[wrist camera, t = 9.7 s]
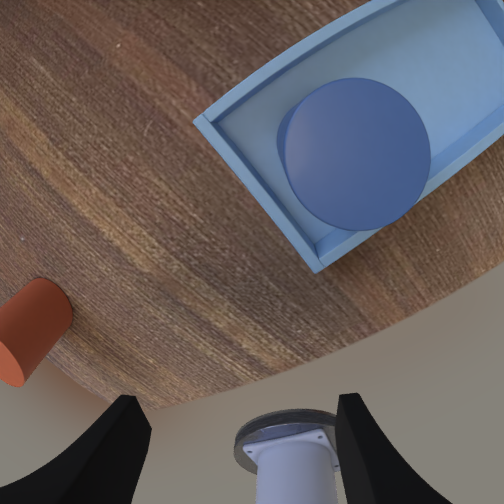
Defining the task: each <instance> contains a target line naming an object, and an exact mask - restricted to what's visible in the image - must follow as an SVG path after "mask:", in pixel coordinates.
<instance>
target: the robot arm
mask: <svg viewBox="0 0 504 504" xmlns="http://www.w3.org/2000/svg"><path fill="white" fill-rule="evenodd" d="M334 429H335V440H336V449H337V454H336V452H335V451H334V449H333V447H332V445H331V443H330V441H329V439H328V437H327V435H326V433H325V431H324V430H323V429H316V430H312V431H308V432H304V433H300V434H296V435H291V436H287V437H282V438H278V439H273V440H268V441H262V442H257V443H251V444H246V445H244V446H243V451H244V452H245V453H246V454H247V455H248V456H249V457H250V458H251V459H252V460H253V461H254V462H255V463H256V464H257V465H258V470H257V489H256V504H338V499H337V491H336V482H335V475H334V472H337V471H341V475H342V479H343V484H344V488H345V494H346V498H347V503H348V504H452V503H451V502H450V501H448V500H447V499H446V498H445V497H443V496H442V495H440V494H439V493H438V492H437V491H436V490H434V489H433V488H432V487H431V486H430V485H429V484H427V482H426V481H424V480H423V479H422V478H421V477H420V476H419V475H418V474H417V473H416V472H415V471H414V470H413V469H412V467H411V466H410V465H409V464H408V463H407V462H406V461H405V460H404V458H403V457H402V456H401V455H400V454H399V453H398V451H397V450H396V449H395V448H394V447H393V445H392V444H391V442H390V441H389V440H388V439H387V437H386V436H385V435H384V433H383V431H382V430H381V429H380V427H379V426H378V424H377V423H376V421H375V420H374V418H373V417H372V415H371V414H370V412H369V410H368V409H367V407H366V405H365V404H364V402H363V400H362V398H361V396H360V395H359V394H358V393H350V394H342V395H339V402H338V409H337V415H336V422H335V428H334ZM151 430H152V428H151V426H150V424H149V422H148V420H147V418H146V417H145V414H144V412H143V411H142V409H141V407H140V405H139V402H138V400H137V398H136V396H130V395H120V396H119V397H118V398H117V399H116V400H115V401H114V402H113V404H112V405H111V406H110V407H109V408H108V409H107V410H106V411H105V412H104V413H103V414H102V415H101V416H100V417H99V418H98V419H97V420H96V421H95V422H94V423H93V424H92V425H91V426H90V427H89V428H88V429H87V430H86V431H85V432H84V433H83V434H82V435H81V436H80V437H79V438H78V439H77V440H76V441H75V442H74V443H72V444H71V445H70V446H69V447H68V448H67V449H66V450H64V451H63V452H62V453H61V454H59V455H58V456H57V457H55V458H54V459H53V460H51V461H50V462H49V463H47V464H46V465H44V466H43V467H41V468H39V469H38V470H36V471H34V472H33V473H31V474H30V475H27V476H26V477H24V478H22V479H20V480H17V481H15V482H13V483H11V484H8V485H6V486H3V487H0V504H131V502H132V498H133V494H134V492H135V489H136V486H137V482H138V479H139V476H140V473H141V470H142V467H143V464H144V461H145V458H146V455H147V452H148V447H149V442H150V436H151Z"/></svg>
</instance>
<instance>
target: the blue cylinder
mask: <svg viewBox="0 0 504 504" xmlns="http://www.w3.org/2000/svg"><path fill="white" fill-rule="evenodd" d="M276 142H277V150H278V155H279V157H280V160H281V163H282V166H283V169H284V171H285V174H286V177H287V180H288V183H289V185H290V187H291V189H292V191H293V193H294V194H295V196H296V197H297V199H298V200H299V202H300V203H301V204H302V205H303V206H304V208H305V209H306V210H308V211H309V212H310V213H311V214H312V215H313V216H315V217H316V218H317V219H319V220H320V221H322V222H324V223H326V224H328V225H330V226H333V227H336V228H338V229H343V230H347V231H369V230H374V229H378V228H381V227H384V226H387V225H389V224H391V223H393V222H395V221H396V220H398V219H399V218H401V217H402V216H403V215H404V214H406V213H407V212H408V211H409V210H410V209H411V208H412V207H413V206H414V204H415V203H416V202H417V200H418V199H419V197H420V195H421V194H422V192H423V190H424V188H425V185H426V182H427V179H428V176H429V172H430V164H431V150H430V142H429V138H428V134H427V131H426V128H425V125H424V123H423V121H422V119H421V117H420V116H419V114H418V113H417V111H416V110H415V108H414V107H413V106H412V105H411V104H410V102H409V101H408V100H407V99H406V98H405V97H403V96H402V95H401V94H400V93H399V92H397V91H396V90H394V89H393V88H391V87H389V86H387V85H385V84H383V83H380V82H378V81H375V80H371V79H365V78H343V79H338V80H334V81H331V82H329V83H326V84H324V85H322V86H320V87H318V88H317V89H315V90H314V91H312V92H311V93H310V94H309V95H307V96H306V97H305V98H304V99H302V100H301V101H300V102H299V103H297V104H296V105H295V106H294V107H292V108H291V109H290V110H289V111H288V112H287V113H286V115H285V116H284V117H283V119H282V121H281V123H280V125H279V128H278V132H277V141H276Z"/></svg>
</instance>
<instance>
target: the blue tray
mask: <svg viewBox="0 0 504 504" xmlns="http://www.w3.org/2000/svg"><path fill="white" fill-rule="evenodd" d="M343 78H365V79H371V80H375V81H378V82H380V83H383V84H385V85H387V86H389V87H391V88H393V89H394V90H396V91H397V92H399V93H400V94H401V95H402V96H403V97H405V98H406V99H407V100H408V101H409V102H410V104H411V105H412V106H413V107H414V108H415V110H416V111H417V113H418V114H419V116H420V117H421V119H422V121H423V123H424V125H425V128H426V131H427V134H428V138H429V142H430V150H431V164H430V172H429V176H428V179H427V182H426V185H425V188H424V190H423V192H422V194H421V195H420V197H419V199H418V200H417V202H419V201H420V200H421V199H423V198H424V197H425V196H427V195H428V194H429V193H431V192H432V191H433V190H434V189H436V188H437V187H438V186H440V185H441V184H442V183H444V182H445V181H446V180H447V179H449V178H450V177H451V176H453V175H454V174H455V173H456V172H458V171H459V170H460V169H462V168H463V167H464V166H465V165H467V164H468V163H469V162H470V161H472V160H473V159H474V158H475V157H477V156H478V155H479V154H480V153H482V152H483V151H484V150H485V149H486V148H488V147H489V146H490V145H491V144H493V143H494V142H495V141H496V140H497V139H499V138H500V137H501V136H502V135H503V134H504V3H503V1H502V0H372V1H370V2H368V3H366V4H364V5H362V6H360V7H358V8H356V9H355V10H353V11H351V12H349V13H347V14H345V15H343V16H342V17H340V18H338V19H336V20H335V21H333V22H331V23H329V24H328V25H326V26H324V27H323V28H321V29H319V30H317V31H316V32H314V33H313V34H311V35H309V36H308V37H306V38H304V39H303V40H301V41H300V42H298V43H297V44H295V45H294V46H292V47H290V48H289V49H287V50H286V51H284V52H283V53H281V54H280V55H278V56H277V57H275V58H274V59H273V60H271V61H270V62H268V63H267V64H265V65H264V66H263V67H261V68H260V69H258V70H257V71H256V72H254V73H253V74H251V75H250V76H249V77H247V78H246V79H245V80H243V81H242V82H241V83H239V84H238V85H237V86H235V87H234V88H233V89H231V90H230V91H229V92H228V93H226V94H225V95H224V96H222V97H221V98H220V99H219V100H217V101H216V102H215V103H214V104H212V105H211V106H210V107H209V108H208V109H206V110H205V111H204V112H203V114H200V115H199V116H198V117H197V118H196V119H194V120H193V124H194V125H195V126H196V127H197V128H198V130H199V131H200V132H201V133H202V134H203V136H204V137H205V138H206V139H207V140H208V142H209V143H210V144H211V145H212V146H213V147H214V149H215V150H216V151H217V152H218V153H219V155H220V156H221V157H222V158H223V159H224V161H225V162H226V163H227V164H228V165H229V167H230V168H231V169H232V170H233V172H234V173H235V174H236V175H237V176H238V178H239V179H240V180H241V181H242V183H243V184H244V185H245V186H246V187H247V189H248V190H249V191H250V192H251V194H252V195H253V196H254V197H255V199H256V200H257V201H258V202H259V204H260V205H261V206H262V207H263V209H264V210H265V211H266V212H267V214H268V215H269V216H270V217H271V219H272V220H273V221H274V222H275V224H276V225H277V226H278V227H279V229H280V230H281V231H282V232H283V234H284V235H285V236H286V237H287V239H288V240H289V241H290V243H291V244H292V245H293V246H294V248H295V249H296V250H297V252H298V253H299V254H300V255H301V257H302V258H303V259H304V261H305V262H306V263H307V264H308V266H309V267H310V268H311V270H312V271H313V272H314V273H315V274H316V273H318V272H319V271H321V270H322V269H324V267H327V266H328V265H330V264H331V263H333V262H334V261H336V260H337V259H339V258H340V257H342V256H343V255H345V254H346V253H347V252H349V251H350V250H352V249H353V248H355V247H356V246H358V245H359V244H360V243H362V242H363V241H365V240H366V239H368V238H369V237H370V236H372V235H373V234H375V233H376V232H377V231H379V230H380V229H382V228H383V227H381V228H378V229H374V230H369V231H347V230H343V229H338V228H336V227H333V226H330V225H328V224H326V223H324V222H322V221H320V220H319V219H317V218H316V217H315V216H313V215H312V214H311V213H310V212H309V211H308V210H306V209H305V208H304V206H303V205H302V204H301V203H300V202H299V200H298V199H297V197H296V196H295V194H294V193H293V191H292V189H291V187H290V185H289V183H288V180H287V177H286V174H285V171H284V169H283V166H282V163H281V160H280V157H279V155H278V150H277V142H276V141H277V132H278V128H279V125H280V123H281V121H282V119H283V117H284V116H285V115H286V113H287V112H288V111H289V110H290V109H291V108H292V107H294V106H295V105H296V104H297V103H299V102H300V101H301V100H302V99H304V98H305V97H306V96H307V95H309V94H310V93H311V92H312V91H314V90H315V89H317V88H318V87H320V86H322V85H324V84H326V83H329V82H331V81H334V80H338V79H343ZM417 202H416V203H417ZM416 203H415V204H416ZM415 204H414V205H415Z"/></svg>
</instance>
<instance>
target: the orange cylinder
mask: <svg viewBox="0 0 504 504" xmlns="http://www.w3.org/2000/svg"><path fill="white" fill-rule="evenodd" d="M72 320H73V312H72V308H71V305H70V303H69V300H68V299H67V297H66V295H65V294H64V293H63V291H62V290H61V289H60V288H59V287H58V286H57V285H56V284H54V283H53V282H51V281H49V280H47V279H44V278H36V279H34V280H32V281H31V282H30V283H29V284H27V285H26V286H25V287H24V288H23V289H21V290H20V291H19V292H18V293H17V294H16V295H14V296H13V297H12V298H11V299H10V300H9V301H7V302H6V303H5V304H4V305H3V306H2V307H1V308H0V379H1V380H3V381H4V382H6V383H7V384H9V385H11V386H14V387H21V386H23V385H24V383H25V382H26V381H27V379H28V378H29V377H30V375H31V374H32V373H33V371H34V370H35V369H36V367H37V366H38V365H39V364H40V362H41V361H42V360H43V358H44V357H45V356H46V355H47V353H48V352H49V351H50V350H51V348H52V347H53V346H54V345H55V343H56V342H57V341H58V340H59V338H60V337H61V336H62V335H63V334H64V332H65V331H66V330H67V329H68V327H69V326H70V325H71V323H72Z"/></svg>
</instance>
